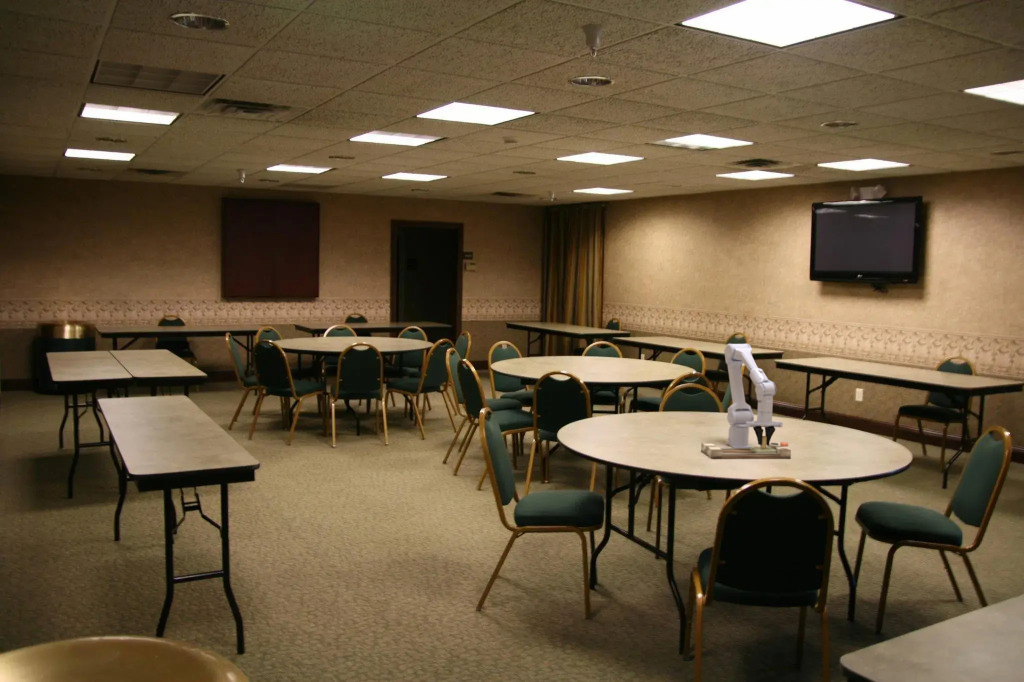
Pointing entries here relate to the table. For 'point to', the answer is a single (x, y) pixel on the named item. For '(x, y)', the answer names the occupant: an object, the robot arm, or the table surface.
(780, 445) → the button
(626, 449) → the table surface
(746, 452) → the rail
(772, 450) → the carriage
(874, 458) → the table surface
